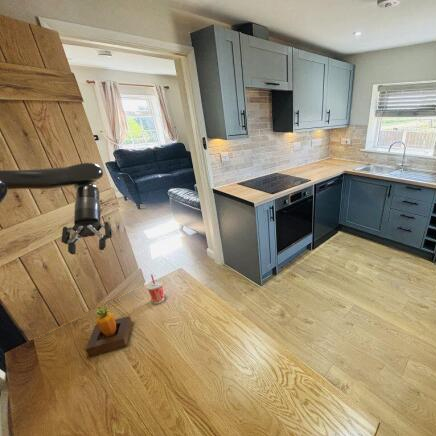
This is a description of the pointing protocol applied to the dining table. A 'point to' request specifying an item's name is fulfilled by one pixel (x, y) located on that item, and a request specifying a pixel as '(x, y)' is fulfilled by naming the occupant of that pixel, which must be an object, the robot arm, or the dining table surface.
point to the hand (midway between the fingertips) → (87, 251)
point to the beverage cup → (155, 290)
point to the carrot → (106, 322)
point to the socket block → (112, 343)
